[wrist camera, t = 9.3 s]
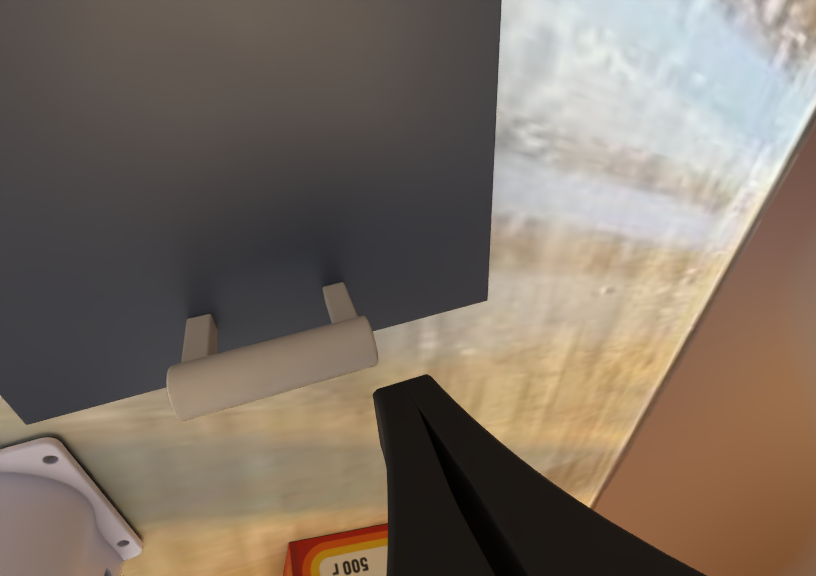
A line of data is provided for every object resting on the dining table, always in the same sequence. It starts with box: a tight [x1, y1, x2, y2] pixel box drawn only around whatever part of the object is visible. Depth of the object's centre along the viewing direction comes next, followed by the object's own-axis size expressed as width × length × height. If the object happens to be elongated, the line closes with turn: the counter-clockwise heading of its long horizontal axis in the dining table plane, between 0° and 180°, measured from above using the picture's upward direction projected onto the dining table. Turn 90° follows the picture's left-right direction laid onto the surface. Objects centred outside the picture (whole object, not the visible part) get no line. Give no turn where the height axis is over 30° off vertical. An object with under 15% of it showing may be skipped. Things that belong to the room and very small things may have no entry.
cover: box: [0, 0, 501, 425], centre depth 10 cm, size 11×15×4 cm
